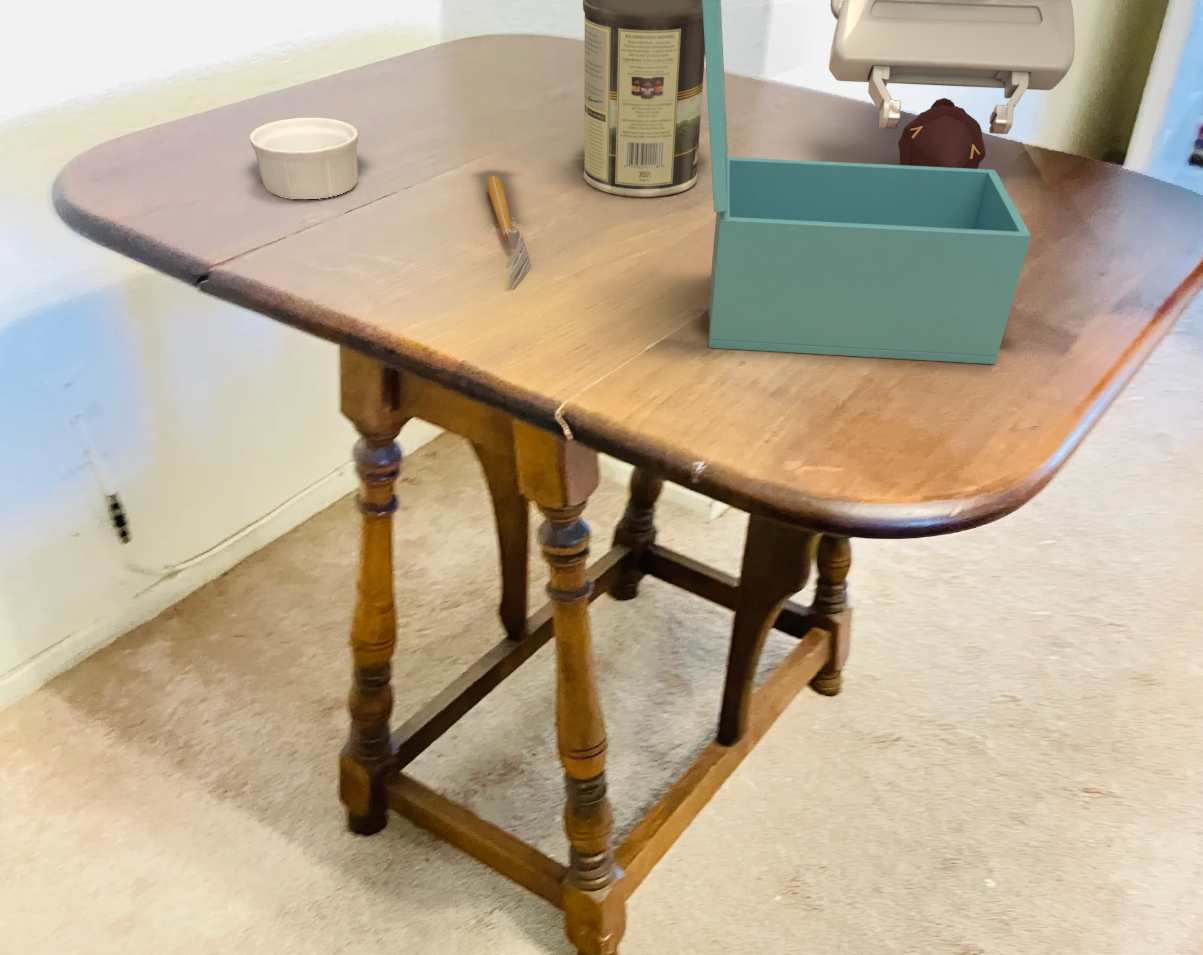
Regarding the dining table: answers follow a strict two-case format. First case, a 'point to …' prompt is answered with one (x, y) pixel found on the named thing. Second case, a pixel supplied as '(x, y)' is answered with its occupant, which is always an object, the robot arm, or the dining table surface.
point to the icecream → (942, 138)
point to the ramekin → (307, 157)
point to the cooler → (865, 260)
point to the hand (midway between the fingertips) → (944, 128)
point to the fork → (508, 229)
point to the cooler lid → (716, 100)
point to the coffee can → (643, 95)
